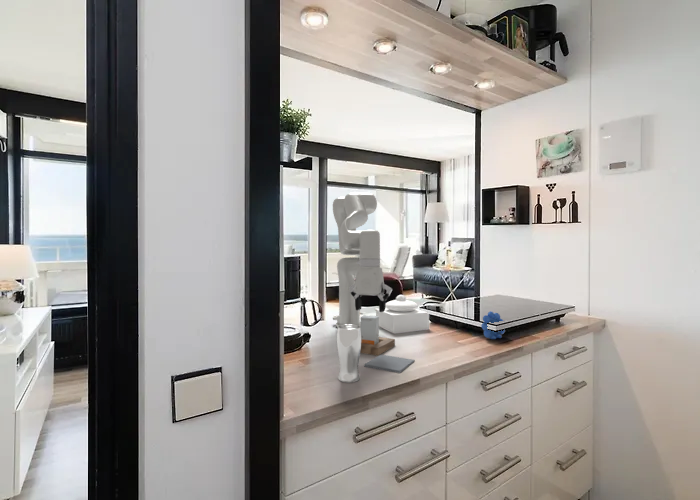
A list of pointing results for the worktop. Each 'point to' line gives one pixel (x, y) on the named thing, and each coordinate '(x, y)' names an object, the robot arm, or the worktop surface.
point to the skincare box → (369, 329)
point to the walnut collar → (378, 346)
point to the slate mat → (389, 363)
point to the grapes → (491, 318)
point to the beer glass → (349, 352)
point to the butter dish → (402, 316)
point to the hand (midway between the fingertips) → (370, 310)
